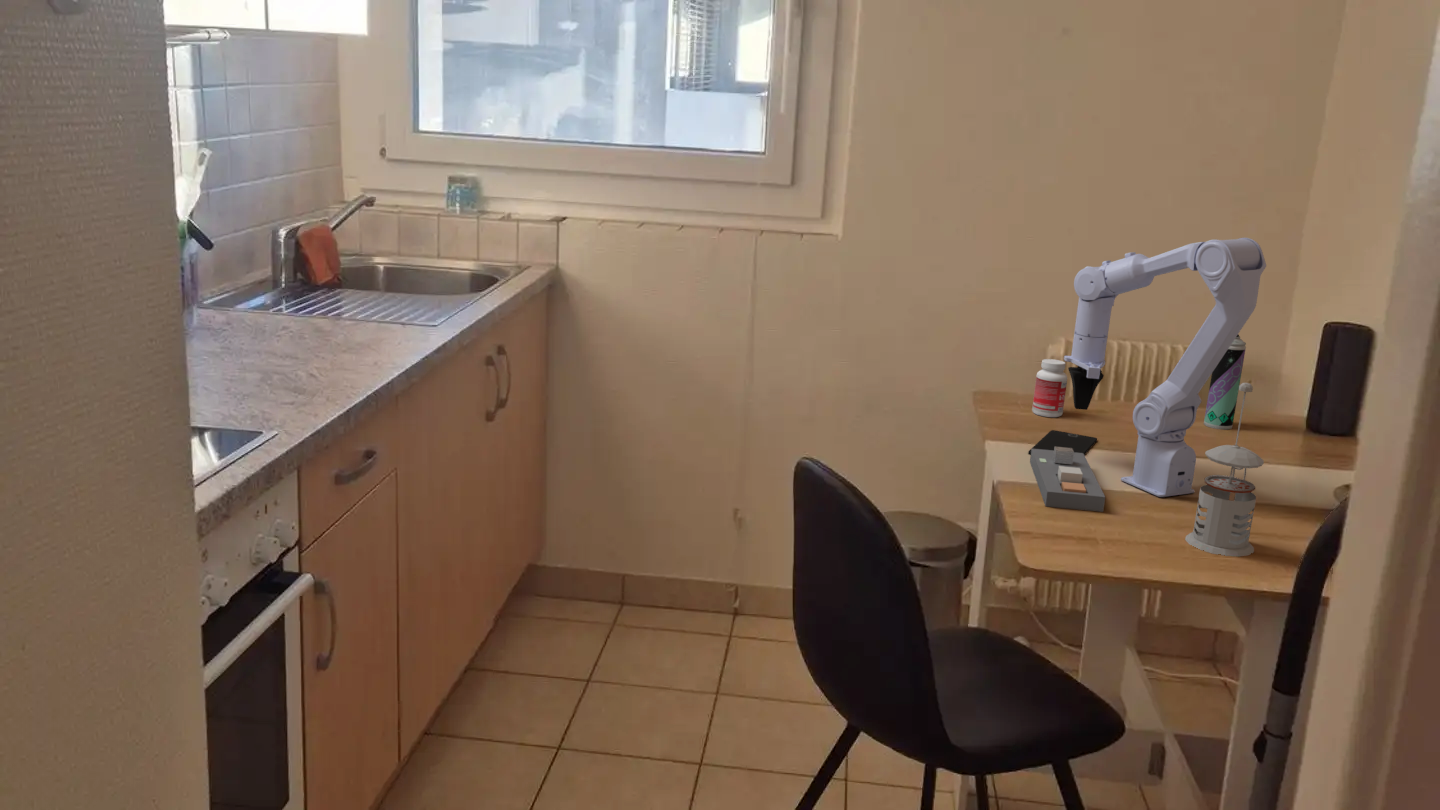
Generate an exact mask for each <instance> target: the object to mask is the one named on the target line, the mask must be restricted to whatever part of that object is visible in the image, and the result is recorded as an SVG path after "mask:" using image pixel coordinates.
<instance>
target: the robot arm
mask: <svg viewBox="0 0 1440 810" xmlns="http://www.w3.org/2000/svg"><path fill="white" fill-rule="evenodd" d="M1266 268H1267V263H1266V259H1265V256H1264V252H1263V249H1262V247H1261V245H1260V244H1259V243H1258V242H1257V241H1256V240H1254V239H1252V238H1249V237H1240V238H1233V239H1216V238H1215V239H1210V240H1206V241H1199V242H1192V243H1188V244H1185V245H1183V246H1180V247H1177V248H1174V249H1171V250H1168V251H1166V252H1163V253H1160V254H1156V255H1154V256H1151V257H1148V256H1147V255H1145V254H1142V253H1137V252H1136V251H1131V252H1125V254H1124V258H1120V259H1117V260H1114V261H1111V260H1104V261H1102V263H1101V265H1100V266H1090V265H1087V266H1085V267H1084V268H1081V269H1080V270H1079V271H1078V272H1077V274H1076V275H1075V276H1074V280H1073V288H1074V292H1075V294H1076V295H1077V296H1078V300H1077V301H1078V304H1077V309H1076V317H1075V325H1074V331H1073V340H1072V349H1071V355H1064V356H1063V361H1064V362H1065V363H1067V362H1068V363H1072V364H1073V365H1076V366H1069V367H1068V372H1069V375H1070V379H1071V384H1072V394H1073V395H1072V396H1073V398H1072V399H1073V406H1074V409H1076V410H1084V411H1085V410H1086V411H1087V410H1088V409H1089V407H1090V404H1091V402H1092V398H1093V395H1094V393H1095V391H1096V389H1097V387H1098V386H1099V384H1100V383H1101V381H1102V380H1104V379H1103V378H1104V376H1105V374H1104V373H1103V371H1102V368H1104V366H1105V365H1106V359H1105V358H1106V352H1107V351H1106V350H1107V346H1108V345H1107V344H1108V337H1109V329H1110V324H1111V323H1110V321H1111V316H1112V309H1113V307H1114V305H1115V300H1116V299H1117V296H1119V295H1121V294H1125V293H1128V292H1131V291H1136V290H1139V289H1143V288H1147V287H1149V286H1150V285H1151V284H1152V282H1153V281H1154V279H1155V277H1157V276H1161V275H1165V274H1168V273H1173V272H1177V271H1181V270H1185V269H1190V270H1191V271H1193V272H1196V271H1197V272H1198V273H1199V276H1200V277H1201V279H1202V280H1203V282H1204V284H1206V286H1207V288H1208V290H1209V291H1210V293H1211V295H1212V296H1213V298H1214V302H1215V305H1214V307H1213V308H1212V309H1211V311H1210V312H1209V314H1208V316H1207V317H1206V318H1205V320H1204V322H1203V324H1202V325H1201V327H1200V328H1199V329H1198V331H1197V332H1196V334H1195V336H1194V338H1193V339H1192V341H1191V342H1190V343H1189V345H1188V346H1187V348H1186V350H1185V351H1184V353H1183V355H1182V356H1181V358H1180V359H1179V361H1178V362H1177V364H1176V365H1175V367H1174V368H1173V370H1172V371H1171V373H1170V375H1169V376H1168V377H1167V379H1166V380H1165V381H1163V383H1161V384H1159V385H1158V386H1156V388H1154V389H1152V391H1151V392H1150V393H1149V395H1148V396H1147V397H1146V398H1145V399H1143V400H1141V401H1140V402H1138V403H1137V404H1136V405H1135V407H1134V409H1133V411H1132V422H1133V425H1134V428H1135V429H1136V431H1137V434H1136V435H1137V436H1138V438H1137V443H1136V444H1137V445H1136V451H1135V457H1134V458H1135V459H1134V464H1133V465H1134V466H1133V471H1132V475H1131V476H1128V475H1127V476H1122V477H1120V481H1122V482H1124V483H1126V484H1128V485H1131V486H1133V487H1136V488H1138V489H1140V490H1142V491H1145V492H1148V493H1149V494H1152V495H1153V496H1155V497H1158V498H1165V497H1171V496H1178V495H1179V496H1180V495H1187V494H1194V493H1195V491H1196V490H1195V489H1193V488H1192V487H1193V481H1194V476H1195V475H1194V473H1195V469H1196V462H1197V454H1196V452H1195V449H1194V448H1193V447H1192V446H1190V445H1188V444H1187V442H1185V437H1186V434H1187V430H1189V429H1190V428H1191V427H1192V426H1193V425H1194V424H1195V421H1196V418H1197V410H1198V409H1199V406H1200V405H1201V403H1202V399H1201V396H1200V395H1199V393H1200V391H1201V390H1202V389H1203V387H1204V386H1205V384H1206V382H1207V381H1208V380H1209V378H1211V376H1212V372H1213V371H1214V369H1215V368H1216V366H1217V365H1218V363H1219V362H1220V360H1221V359H1222V357H1223V356H1224V354H1225V353H1226V351H1227V350H1228V348H1229V347H1230V345H1231V344H1232V342H1233V341H1234V339H1235V338H1236V336H1237V335H1239V334H1240V332H1241V330H1242V329H1243V328H1244V326H1245V324H1246V323H1247V321H1248V320H1249V319H1250V317H1251V315H1252V314H1253V313H1254V311H1255V309H1256V306H1257V303H1258V302H1257V301H1258V295H1259V289H1260V288H1259V287H1260V282H1261V276H1262V274H1263V272H1264V271H1265V269H1266Z"/></svg>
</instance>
